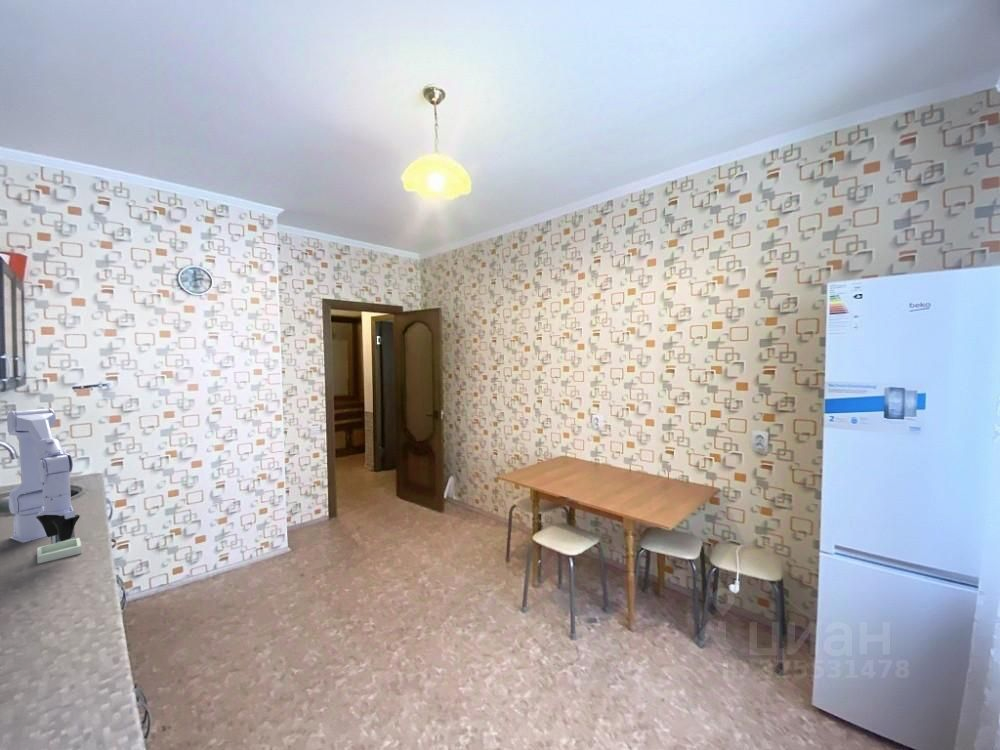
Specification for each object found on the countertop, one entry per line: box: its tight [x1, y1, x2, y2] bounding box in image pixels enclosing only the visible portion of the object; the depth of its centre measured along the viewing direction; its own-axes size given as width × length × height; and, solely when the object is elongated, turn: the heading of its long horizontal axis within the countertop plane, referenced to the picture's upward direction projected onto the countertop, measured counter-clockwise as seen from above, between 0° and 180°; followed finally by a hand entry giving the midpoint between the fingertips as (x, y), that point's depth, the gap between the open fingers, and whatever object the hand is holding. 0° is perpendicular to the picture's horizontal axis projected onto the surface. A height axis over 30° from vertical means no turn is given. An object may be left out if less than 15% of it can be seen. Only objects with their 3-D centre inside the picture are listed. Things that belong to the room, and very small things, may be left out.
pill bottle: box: [50, 528, 76, 544], centre depth 132 cm, size 5×5×9 cm
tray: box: [36, 537, 83, 564], centre depth 124 cm, size 9×9×2 cm
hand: (59, 537), depth 124 cm, fingers open, 7 cm apart
